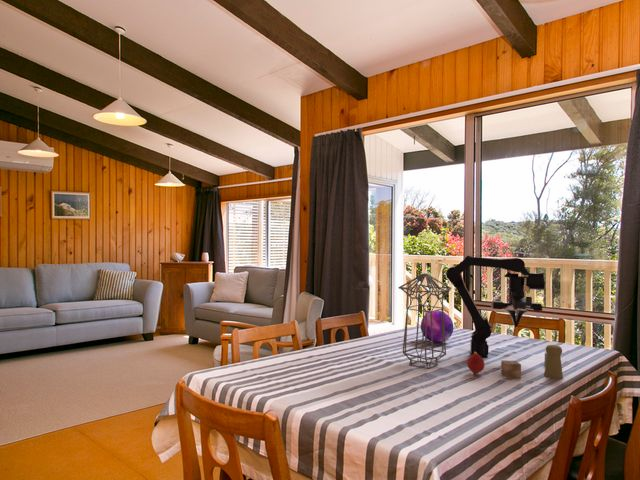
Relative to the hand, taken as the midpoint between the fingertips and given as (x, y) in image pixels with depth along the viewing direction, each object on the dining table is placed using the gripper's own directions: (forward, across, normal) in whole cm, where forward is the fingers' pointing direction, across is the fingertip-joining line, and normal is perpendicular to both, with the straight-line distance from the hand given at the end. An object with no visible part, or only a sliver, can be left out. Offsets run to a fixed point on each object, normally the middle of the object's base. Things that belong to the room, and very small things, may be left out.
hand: (515, 327), depth 191 cm
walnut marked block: (+13, -7, -28) cm, 32 cm away
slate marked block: (+13, +12, -7) cm, 19 cm away
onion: (+13, -19, -29) cm, 37 cm away
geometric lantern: (+13, -37, -22) cm, 45 cm away
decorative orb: (+13, -30, +24) cm, 41 cm away
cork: (+13, +8, -24) cm, 29 cm away
